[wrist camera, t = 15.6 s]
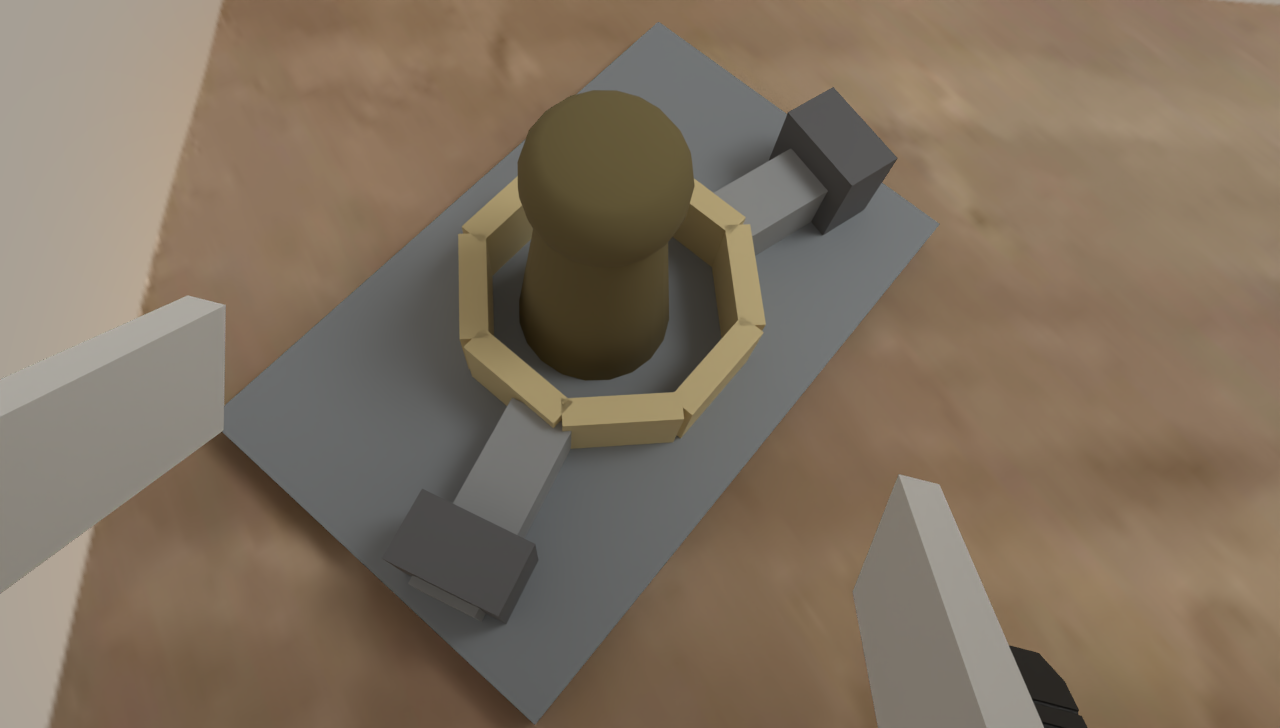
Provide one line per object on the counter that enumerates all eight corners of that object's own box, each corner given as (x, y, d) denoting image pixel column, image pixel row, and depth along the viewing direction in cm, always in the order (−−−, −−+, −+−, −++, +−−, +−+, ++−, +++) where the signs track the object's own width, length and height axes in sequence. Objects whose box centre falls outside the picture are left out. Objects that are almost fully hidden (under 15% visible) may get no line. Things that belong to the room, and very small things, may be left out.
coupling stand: (655, 44, 40) (668, -46, 35) (925, 241, 37) (981, 174, 32) (224, 430, 31) (160, 384, 26) (536, 722, 28) (530, 732, 23)
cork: (507, 255, 33) (482, 67, 23) (651, 233, 34) (689, 44, 24) (532, 393, 31) (518, 255, 21) (684, 366, 32) (742, 222, 22)
